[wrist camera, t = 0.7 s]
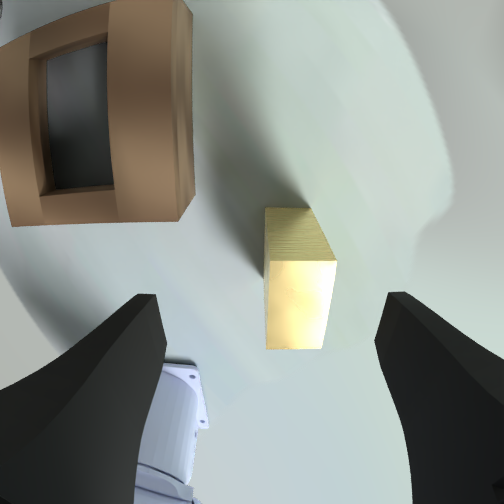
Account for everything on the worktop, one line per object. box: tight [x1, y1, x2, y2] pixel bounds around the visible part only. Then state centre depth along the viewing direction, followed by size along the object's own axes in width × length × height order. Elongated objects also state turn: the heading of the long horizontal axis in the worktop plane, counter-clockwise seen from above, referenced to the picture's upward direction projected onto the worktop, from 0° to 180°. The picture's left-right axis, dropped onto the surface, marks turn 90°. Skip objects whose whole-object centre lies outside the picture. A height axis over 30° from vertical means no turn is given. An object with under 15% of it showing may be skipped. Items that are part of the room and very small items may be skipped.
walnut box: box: [0, 0, 195, 227], centre depth 12 cm, size 10×10×4 cm
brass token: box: [263, 207, 337, 349], centre depth 15 cm, size 4×2×6 cm, turn 0°
